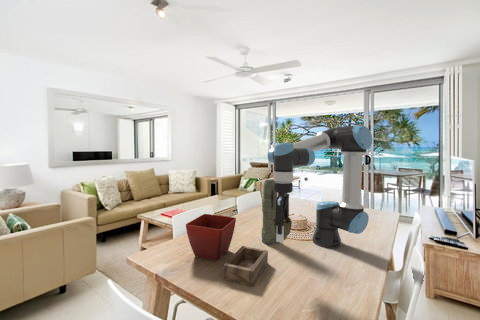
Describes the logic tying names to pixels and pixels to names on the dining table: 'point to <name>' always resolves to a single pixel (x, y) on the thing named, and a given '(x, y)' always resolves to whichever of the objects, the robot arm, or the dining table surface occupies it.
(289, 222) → the olive textured bell shape
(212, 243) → the plant pot
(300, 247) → the dining table surface
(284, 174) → the robot arm
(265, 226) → the thermos
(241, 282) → the walnut box
